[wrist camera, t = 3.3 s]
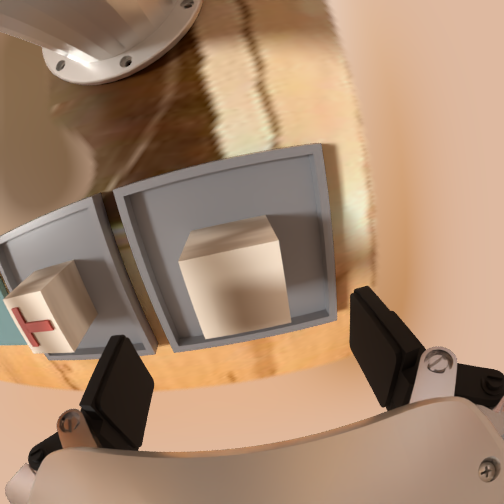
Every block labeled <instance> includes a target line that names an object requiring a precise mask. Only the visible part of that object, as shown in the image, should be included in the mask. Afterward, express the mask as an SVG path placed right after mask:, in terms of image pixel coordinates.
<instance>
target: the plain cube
mask: <svg viewBox="0 0 504 504" xmlns="http://www.w3.org/2000/svg"><path fill="white" fill-rule="evenodd" d="M178 263H179V266H180V269H181V272H182V275H183V278H184V281H185V284H186V287H187V290H188V293H189V296H190V299H191V302H192V304H193V307H194V310H195V313H196V315H197V318H198V321H199V324H200V326H201V329H202V332H203V334H204V337H205V339H210V338H216V337H222V336H227V335H233V334H238V333H244V332H249V331H254V330H259V329H264V328H268V327H273V326H278V325H282V324H287V323H291V316H290V309H289V303H288V296H287V289H286V283H285V276H284V270H283V264H282V258H281V251H280V245H279V240H278V238H277V236H276V234H275V232H274V230H273V229H272V227H271V225H270V223H269V221H268V219H267V217H266V215H262V216H257V217H253V218H248V219H243V220H238V221H234V222H229V223H224V224H220V225H215V226H211V227H206V228H202V229H197V230H193V231H191V232H190V234H189V236H188V239H187V241H186V244H185V246H184V248H183V251H182V253H181V256H180V258H179V261H178Z"/></svg>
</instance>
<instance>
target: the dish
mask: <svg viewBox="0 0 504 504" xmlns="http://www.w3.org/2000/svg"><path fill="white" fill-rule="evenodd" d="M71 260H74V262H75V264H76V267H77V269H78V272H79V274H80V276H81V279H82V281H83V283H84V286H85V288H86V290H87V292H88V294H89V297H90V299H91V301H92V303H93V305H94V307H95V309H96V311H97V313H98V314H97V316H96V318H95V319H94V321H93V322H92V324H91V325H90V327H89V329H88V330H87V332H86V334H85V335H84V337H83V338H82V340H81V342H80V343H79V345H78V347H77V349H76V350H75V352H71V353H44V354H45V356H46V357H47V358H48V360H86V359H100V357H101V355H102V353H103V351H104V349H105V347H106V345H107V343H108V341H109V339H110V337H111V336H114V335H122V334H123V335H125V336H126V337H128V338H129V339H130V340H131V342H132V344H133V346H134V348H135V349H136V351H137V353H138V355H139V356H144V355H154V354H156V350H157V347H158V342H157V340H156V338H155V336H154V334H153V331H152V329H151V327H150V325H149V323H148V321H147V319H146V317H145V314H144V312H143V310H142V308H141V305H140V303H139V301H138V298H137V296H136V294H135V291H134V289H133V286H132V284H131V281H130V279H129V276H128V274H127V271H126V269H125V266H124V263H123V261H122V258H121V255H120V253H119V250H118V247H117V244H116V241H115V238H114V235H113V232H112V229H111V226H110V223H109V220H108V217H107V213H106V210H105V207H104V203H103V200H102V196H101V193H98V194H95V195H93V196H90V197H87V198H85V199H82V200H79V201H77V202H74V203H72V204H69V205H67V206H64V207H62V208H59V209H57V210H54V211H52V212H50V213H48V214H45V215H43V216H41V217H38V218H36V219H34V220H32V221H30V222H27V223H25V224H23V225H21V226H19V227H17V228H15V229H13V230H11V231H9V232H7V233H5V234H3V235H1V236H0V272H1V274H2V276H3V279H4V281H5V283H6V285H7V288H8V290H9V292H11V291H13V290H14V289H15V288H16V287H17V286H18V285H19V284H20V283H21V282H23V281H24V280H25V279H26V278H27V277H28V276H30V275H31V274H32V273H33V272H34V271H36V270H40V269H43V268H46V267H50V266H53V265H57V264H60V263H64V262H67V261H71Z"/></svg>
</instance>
